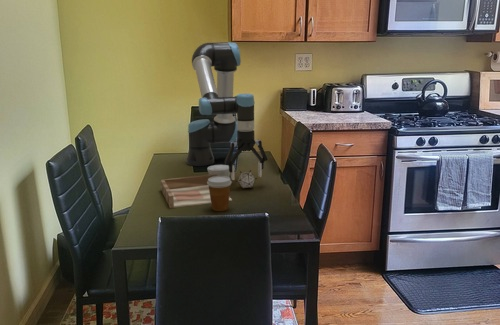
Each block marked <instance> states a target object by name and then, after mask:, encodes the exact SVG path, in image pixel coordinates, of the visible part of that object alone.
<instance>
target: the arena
mask: <svg viewBox="0 0 500 325" xmlns="http://www.w3.org/2000/svg"><path fill="white" fill-rule="evenodd" d="M215 176H217V174H212V175H209V174H204V175H193V176H183V177H175V178H167V179H166V178H164V179H160V190H161V191H160V192H161V193H162V194H163V197H164V199H165V201H166V204H168V207H169V209H175V208H176V209H177V208H183V207H184V208H185V207H192V206H200V205H208V204H211V198H210V192H209V186H208V184H207V182H208V179H209V178H211V177H215ZM229 202H233V199H232V198H231V196H229Z"/></svg>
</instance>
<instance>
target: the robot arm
mask: <svg viewBox="0 0 500 325" xmlns="http://www.w3.org/2000/svg"><path fill="white" fill-rule="evenodd" d="M191 56H192V57H191V65H192V68H193V70H194V71H195V73H196V79H197V82H198V87H199V92H200V97H201V98H199V99H198V111H199V114H200V115H202V116H212V115H216V116H214V118H213V121H210V119H207V118H205V119H198V120H193V121H191V122H189V123H188V125H187V126H188V127H187V132H188V153H187V156H186V164H187V165H188V166H192V167H203V166H209V165H210V166H211V165H213V164H214V163H215V157H214V155H213V151H212V148H211V147H212V146H211V144H224V143H226V144H228V143H229V148H228V152H227V154H226V157H225V159H224V165H228V166H229V172H230V179H231V181H235V179H236V178H235V165H234V163H235V161H237V159H238V157H239V156H240V155H241V153H242V152H252V153H253V154H254V155H255V157H256V159H258V160H259V161H258V162H257V176H258V177H260V178H262V174H263V172H262V171H263V170H264V168H265V167H264V166H265V165H264V163H265V162H266V161H267V162H268V157H267V155H266V151H265V149H264V147H263V144H262V140H260V139H257V140H256V139H255V97H254V94H252V93H238V94H237V95H235V96H234V76H235V74H234V73H235V72H236V71H237V70H238V67H239V66H241V62H242V61H241V59H242V58H241V52H240V47H239V46H238V44H237V43H236V42H229V41H222V42H221V41H220V42H204V43H202V44H200V45H199V46H198V47H196V49H195V50H194V52H193V53H192V55H191ZM212 67H213V69H212ZM213 70H214V71H215V72H216V81H215V77H214V74H213ZM234 114H235V115H236V118H235V116H233V115H234ZM236 146H237V149H236V151H235V152H234V150H235V148H236ZM254 146H257V148H258V150H259V152H260V154H259V153H258V151H257V150H256V148H255V147H254ZM233 153H234V154H233Z"/></svg>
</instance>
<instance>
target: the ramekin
mask: <svg viewBox="0 0 500 325" xmlns="http://www.w3.org/2000/svg"><path fill="white" fill-rule="evenodd" d="M206 169H207V173H208V175H212V174H217V176H226V177H229V178H230V176H231V173H230V172H229V165H227V164H214V165H213V164H212V165H210V166H208V167H207V168H206Z"/></svg>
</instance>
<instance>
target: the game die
mask: <svg viewBox="0 0 500 325" xmlns="http://www.w3.org/2000/svg"><path fill="white" fill-rule="evenodd" d="M257 179H258V177H255V175H254V174H253V173H252V170H251V169H250V170H249V171H241V170H239V177H238V179H237V180H236V181H235V182H237V183H239V185H240V186H241V190H244V189H248V188H249V189H250V188H252V189H254V183H255V181H256V180H257Z"/></svg>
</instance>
